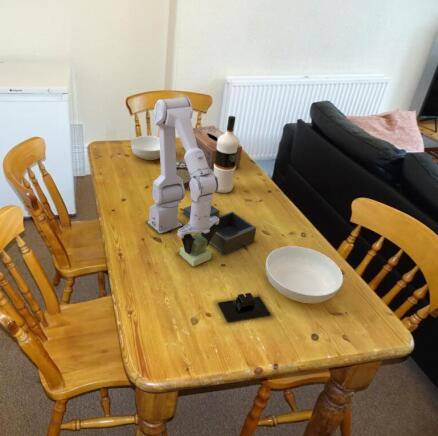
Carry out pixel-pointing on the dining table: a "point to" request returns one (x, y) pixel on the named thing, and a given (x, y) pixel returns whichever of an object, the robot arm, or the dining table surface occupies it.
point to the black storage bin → (232, 233)
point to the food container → (183, 173)
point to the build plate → (243, 308)
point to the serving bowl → (303, 274)
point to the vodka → (226, 157)
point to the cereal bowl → (146, 147)
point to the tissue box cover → (211, 144)
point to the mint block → (195, 257)
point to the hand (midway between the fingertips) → (196, 248)
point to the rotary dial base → (213, 212)
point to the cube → (198, 245)
